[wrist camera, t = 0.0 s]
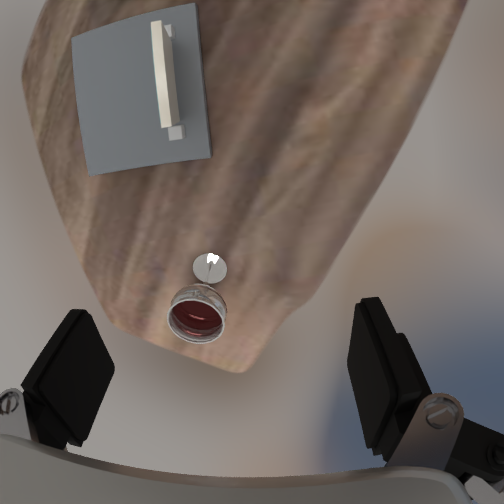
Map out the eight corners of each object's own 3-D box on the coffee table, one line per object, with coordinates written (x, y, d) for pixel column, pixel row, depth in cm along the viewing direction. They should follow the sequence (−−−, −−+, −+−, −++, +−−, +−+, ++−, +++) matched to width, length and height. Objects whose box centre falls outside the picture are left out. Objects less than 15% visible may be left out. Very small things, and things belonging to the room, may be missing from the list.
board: (77, 39, 30) (65, 36, 27) (197, 5, 29) (192, -2, 26) (94, 173, 39) (83, 179, 36) (212, 155, 38) (208, 160, 35)
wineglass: (215, 239, 43) (200, 288, 33) (242, 275, 46) (237, 331, 35) (177, 261, 45) (154, 313, 34) (205, 295, 48) (191, 351, 37)
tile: (171, 41, 29) (163, 43, 29) (161, 20, 20) (149, 22, 20) (179, 121, 34) (171, 122, 34) (171, 126, 25) (160, 128, 25)
